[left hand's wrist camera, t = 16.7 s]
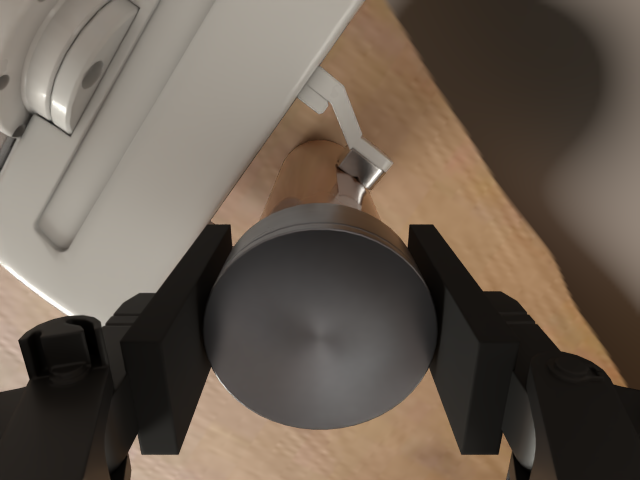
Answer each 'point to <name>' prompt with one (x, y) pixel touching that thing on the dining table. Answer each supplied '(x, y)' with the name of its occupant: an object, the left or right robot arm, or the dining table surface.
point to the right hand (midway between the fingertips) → (336, 228)
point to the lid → (320, 318)
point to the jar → (317, 181)
